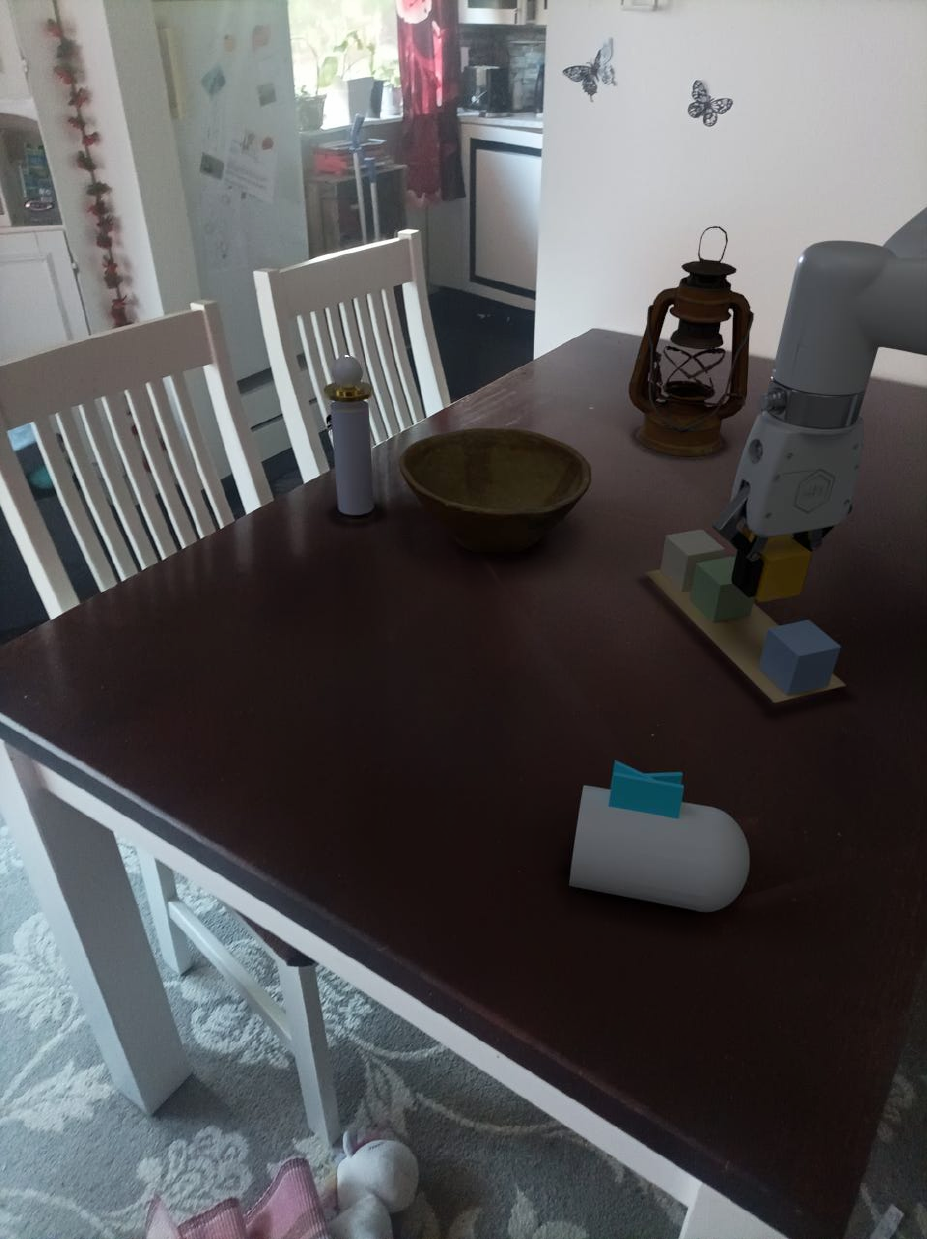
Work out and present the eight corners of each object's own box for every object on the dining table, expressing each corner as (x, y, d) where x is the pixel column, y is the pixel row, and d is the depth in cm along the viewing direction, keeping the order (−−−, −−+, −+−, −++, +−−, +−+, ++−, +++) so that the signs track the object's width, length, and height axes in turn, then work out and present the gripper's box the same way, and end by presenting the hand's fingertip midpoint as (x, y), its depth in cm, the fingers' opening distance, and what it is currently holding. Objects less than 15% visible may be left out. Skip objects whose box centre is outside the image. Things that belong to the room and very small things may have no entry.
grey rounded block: (769, 813, 56) (582, 781, 58) (745, 940, 58) (565, 905, 60) (748, 753, 67) (593, 728, 69) (729, 861, 69) (578, 834, 71)
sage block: (726, 592, 94) (733, 555, 92) (750, 615, 91) (759, 577, 88) (689, 599, 93) (696, 562, 90) (712, 623, 90) (720, 585, 87)
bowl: (412, 596, 95) (410, 515, 89) (393, 501, 113) (391, 429, 108) (606, 582, 98) (616, 502, 92) (556, 492, 116) (562, 421, 111)
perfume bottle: (387, 508, 112) (381, 353, 100) (361, 526, 108) (351, 367, 96) (351, 497, 114) (341, 345, 103) (324, 515, 110) (310, 358, 99)
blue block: (797, 658, 85) (808, 619, 82) (828, 686, 81) (841, 646, 79) (757, 667, 84) (767, 627, 81) (787, 696, 80) (798, 656, 77)
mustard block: (771, 570, 86) (781, 529, 83) (800, 594, 82) (812, 552, 80) (731, 578, 85) (741, 536, 82) (759, 602, 81) (770, 560, 79)
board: (704, 567, 101) (706, 560, 100) (843, 693, 82) (846, 685, 81) (643, 579, 98) (644, 571, 98) (772, 710, 80) (774, 702, 79)
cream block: (695, 564, 99) (702, 529, 97) (717, 585, 96) (725, 548, 93) (659, 571, 98) (665, 535, 95) (681, 592, 94) (688, 555, 92)
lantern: (735, 428, 135) (777, 219, 118) (738, 462, 125) (784, 238, 108) (626, 417, 138) (651, 212, 121) (619, 450, 128) (646, 230, 111)
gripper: (754, 429, 68) (711, 621, 78) (926, 407, 73) (864, 590, 83) (701, 396, 74) (669, 579, 84) (864, 377, 78) (814, 552, 89)
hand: (766, 583), depth 83 cm, fingers closed on mustard block, 4 cm apart
